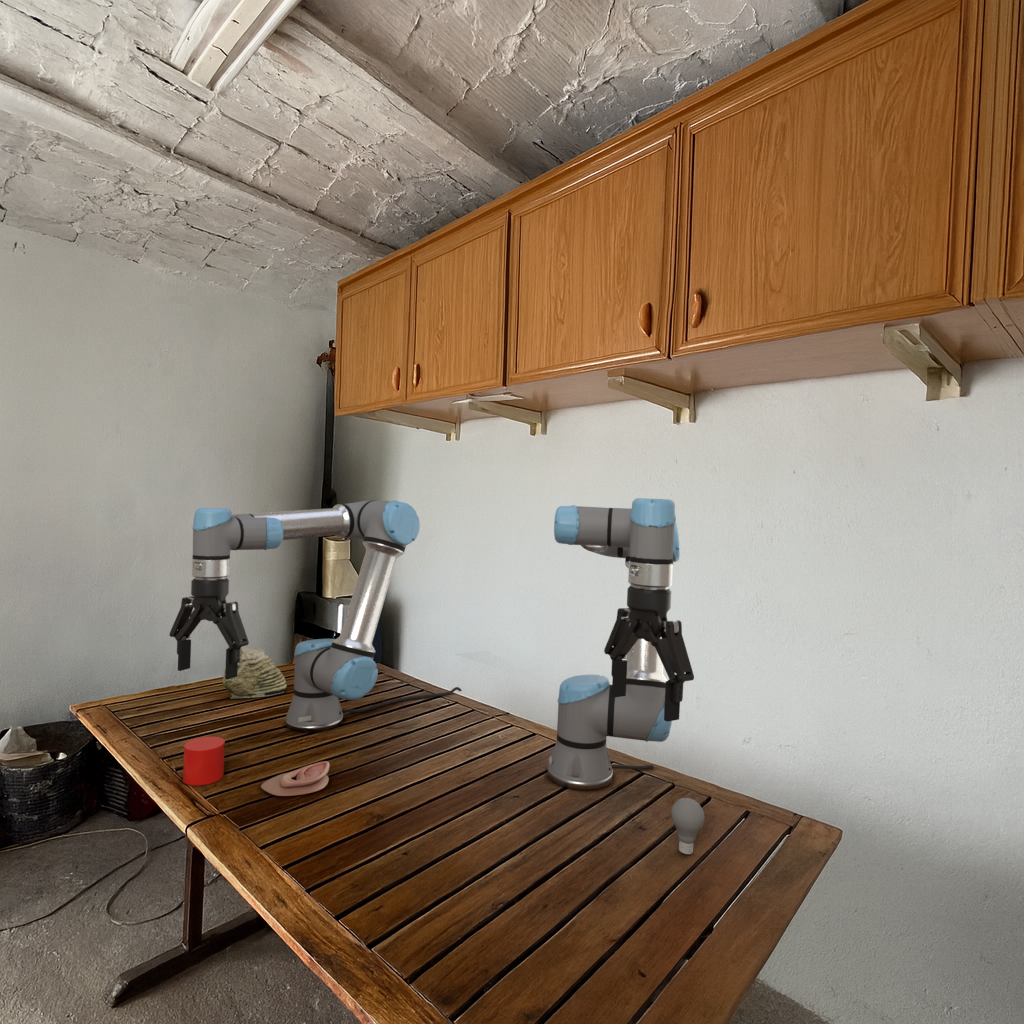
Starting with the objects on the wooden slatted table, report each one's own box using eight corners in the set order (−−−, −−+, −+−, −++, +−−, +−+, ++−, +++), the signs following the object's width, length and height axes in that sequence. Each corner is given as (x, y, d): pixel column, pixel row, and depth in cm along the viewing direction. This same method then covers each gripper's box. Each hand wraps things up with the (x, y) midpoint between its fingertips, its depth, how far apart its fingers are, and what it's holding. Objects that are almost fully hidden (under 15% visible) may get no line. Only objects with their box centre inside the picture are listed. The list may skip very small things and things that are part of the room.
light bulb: (664, 843, 121) (667, 792, 121) (695, 843, 121) (698, 792, 121) (675, 861, 115) (678, 807, 115) (707, 861, 115) (710, 807, 115)
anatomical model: (253, 773, 134) (283, 753, 145) (252, 792, 134) (282, 770, 145) (310, 782, 131) (336, 760, 142) (309, 801, 131) (335, 777, 143)
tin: (184, 771, 143) (185, 738, 142) (224, 767, 146) (225, 734, 146) (181, 787, 135) (182, 752, 135) (222, 782, 138) (224, 748, 138)
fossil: (218, 695, 195) (220, 647, 195) (278, 685, 208) (279, 640, 207) (228, 703, 189) (230, 653, 188) (289, 692, 201) (290, 645, 201)
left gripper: (153, 574, 140) (150, 669, 141) (242, 584, 132) (238, 685, 132) (182, 571, 147) (179, 662, 148) (267, 580, 139) (264, 677, 139)
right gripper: (589, 578, 119) (583, 689, 120) (686, 598, 98) (679, 734, 98) (620, 577, 123) (615, 685, 124) (720, 596, 102) (713, 728, 102)
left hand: (207, 673), depth 140 cm, fingers open, 13 cm apart
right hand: (643, 707), depth 111 cm, fingers open, 13 cm apart
